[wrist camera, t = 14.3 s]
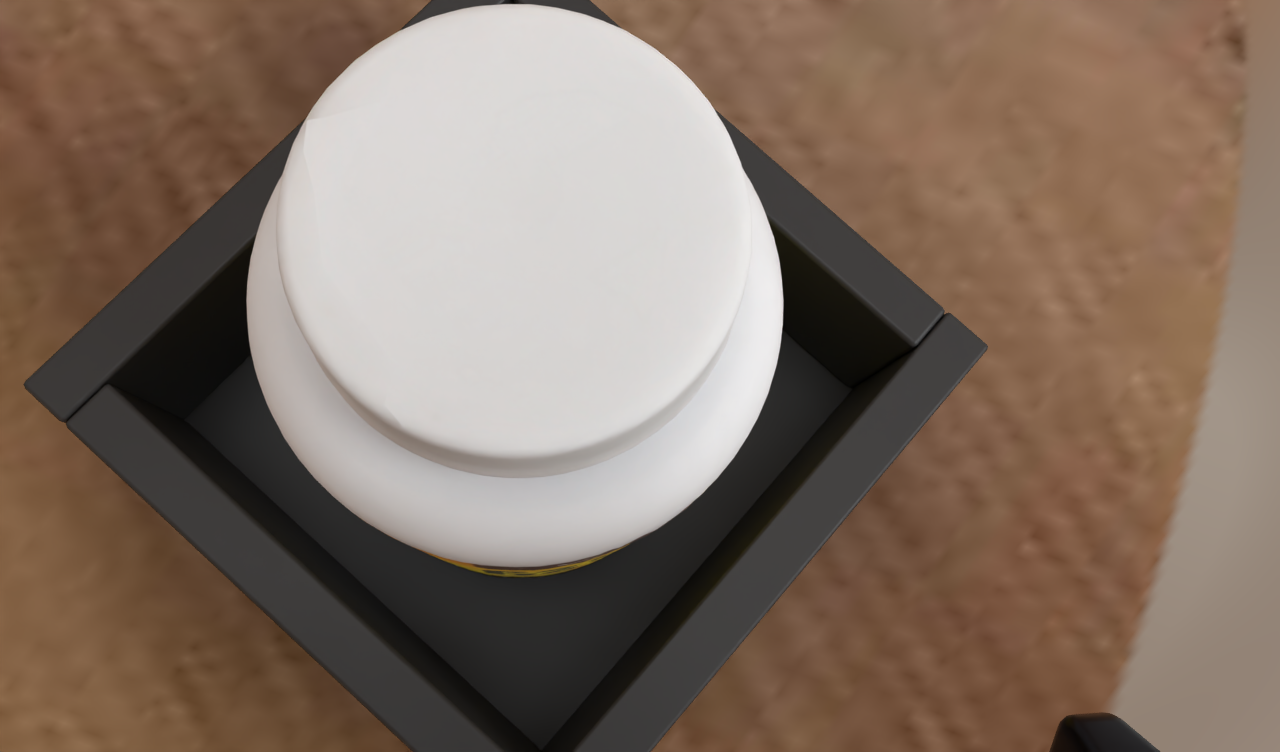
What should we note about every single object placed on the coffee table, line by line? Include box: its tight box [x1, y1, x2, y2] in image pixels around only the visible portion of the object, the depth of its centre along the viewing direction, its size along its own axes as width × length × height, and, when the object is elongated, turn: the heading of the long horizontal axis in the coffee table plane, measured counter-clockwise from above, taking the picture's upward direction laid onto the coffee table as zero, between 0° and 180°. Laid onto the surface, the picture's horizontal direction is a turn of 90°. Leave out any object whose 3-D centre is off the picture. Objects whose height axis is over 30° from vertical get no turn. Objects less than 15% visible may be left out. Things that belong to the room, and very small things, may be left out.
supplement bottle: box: [246, 4, 783, 578], centre depth 14 cm, size 6×6×10 cm
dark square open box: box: [24, 0, 988, 752], centre depth 18 cm, size 10×10×4 cm
